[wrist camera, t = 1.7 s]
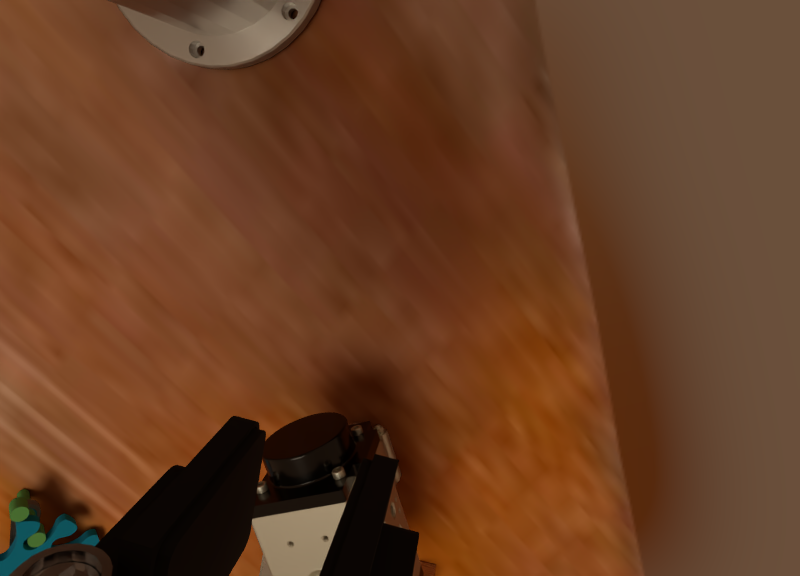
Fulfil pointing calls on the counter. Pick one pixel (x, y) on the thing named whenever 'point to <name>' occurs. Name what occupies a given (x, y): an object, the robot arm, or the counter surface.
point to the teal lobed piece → (35, 533)
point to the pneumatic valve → (315, 489)
